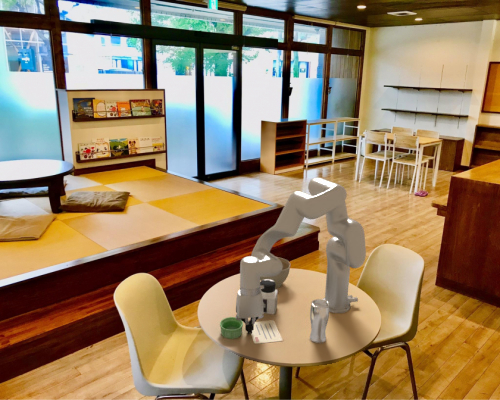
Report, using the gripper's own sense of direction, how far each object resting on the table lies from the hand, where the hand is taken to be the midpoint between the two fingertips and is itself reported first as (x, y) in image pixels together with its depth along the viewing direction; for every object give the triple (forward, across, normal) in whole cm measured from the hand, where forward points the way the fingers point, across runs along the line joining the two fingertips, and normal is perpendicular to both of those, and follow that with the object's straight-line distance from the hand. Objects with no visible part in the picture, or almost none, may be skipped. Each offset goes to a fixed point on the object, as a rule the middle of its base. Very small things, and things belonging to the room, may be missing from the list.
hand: (249, 331), depth 162 cm
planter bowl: (+1, -19, -37) cm, 42 cm away
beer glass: (+1, -25, +8) cm, 26 cm away
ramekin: (+1, +7, -2) cm, 7 cm away
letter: (+1, -6, 0) cm, 6 cm away
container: (+1, -11, -16) cm, 20 cm away
